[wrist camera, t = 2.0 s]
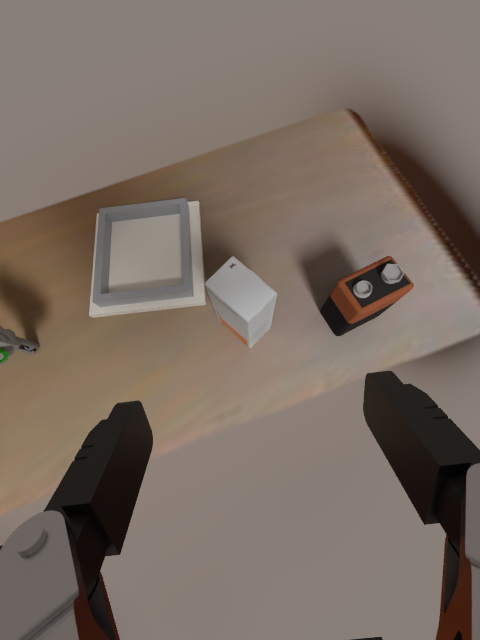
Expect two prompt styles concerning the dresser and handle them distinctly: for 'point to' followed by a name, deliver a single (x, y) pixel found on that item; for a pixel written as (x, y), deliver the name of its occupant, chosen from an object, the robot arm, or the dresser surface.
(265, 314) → the skincare box
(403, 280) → the battery
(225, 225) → the dresser surface
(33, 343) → the mechanical component
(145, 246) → the grey rimmed tray
